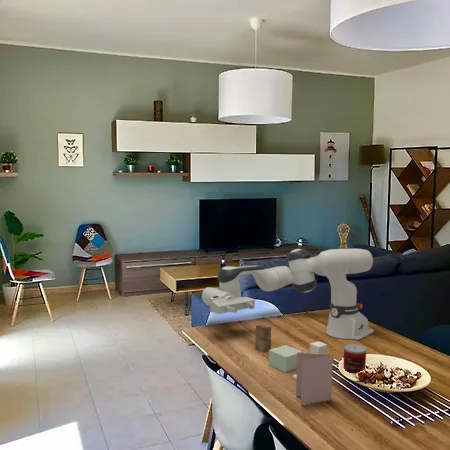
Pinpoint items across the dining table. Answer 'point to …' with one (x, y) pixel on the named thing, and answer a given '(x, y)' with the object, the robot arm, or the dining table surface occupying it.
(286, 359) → the sage block
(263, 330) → the walnut post
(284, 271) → the robot arm
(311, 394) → the greeting card
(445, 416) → the dining table surface
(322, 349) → the offwhite post
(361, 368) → the canned food
